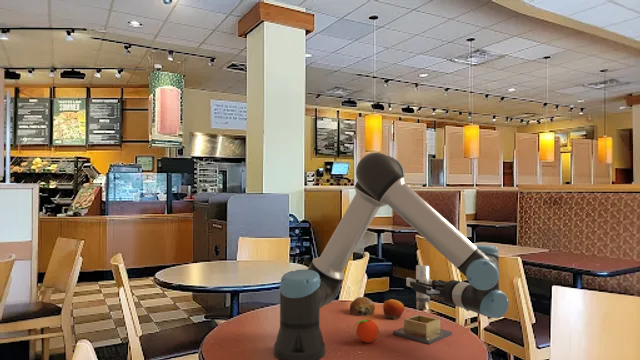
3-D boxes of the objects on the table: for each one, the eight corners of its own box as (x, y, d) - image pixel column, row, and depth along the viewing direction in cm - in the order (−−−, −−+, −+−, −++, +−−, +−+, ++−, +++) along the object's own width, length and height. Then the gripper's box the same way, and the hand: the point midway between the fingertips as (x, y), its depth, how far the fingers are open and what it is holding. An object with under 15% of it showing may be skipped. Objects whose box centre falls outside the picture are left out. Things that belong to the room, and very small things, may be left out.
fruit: (378, 316, 166) (381, 295, 170) (384, 322, 172) (387, 302, 176) (398, 318, 162) (402, 297, 166) (404, 325, 168) (407, 305, 172)
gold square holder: (429, 344, 139) (429, 328, 139) (392, 334, 149) (392, 319, 149) (451, 334, 149) (451, 319, 149) (416, 325, 159) (415, 311, 159)
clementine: (356, 346, 136) (356, 323, 136) (350, 339, 143) (350, 317, 143) (381, 345, 138) (381, 322, 138) (374, 338, 144) (374, 316, 145)
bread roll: (376, 322, 176) (380, 302, 179) (366, 316, 168) (370, 295, 172) (354, 318, 181) (358, 298, 185) (343, 312, 174) (348, 292, 177)
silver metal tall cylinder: (425, 310, 146) (424, 267, 146) (413, 307, 149) (413, 265, 149) (432, 307, 149) (432, 266, 149) (420, 305, 152) (420, 264, 153)
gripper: (437, 310, 129) (392, 294, 150) (482, 304, 136) (433, 289, 158) (437, 284, 129) (392, 272, 151) (482, 279, 137) (433, 268, 158)
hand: (413, 281), depth 154 cm, fingers closed on silver metal tall cylinder, 4 cm apart
